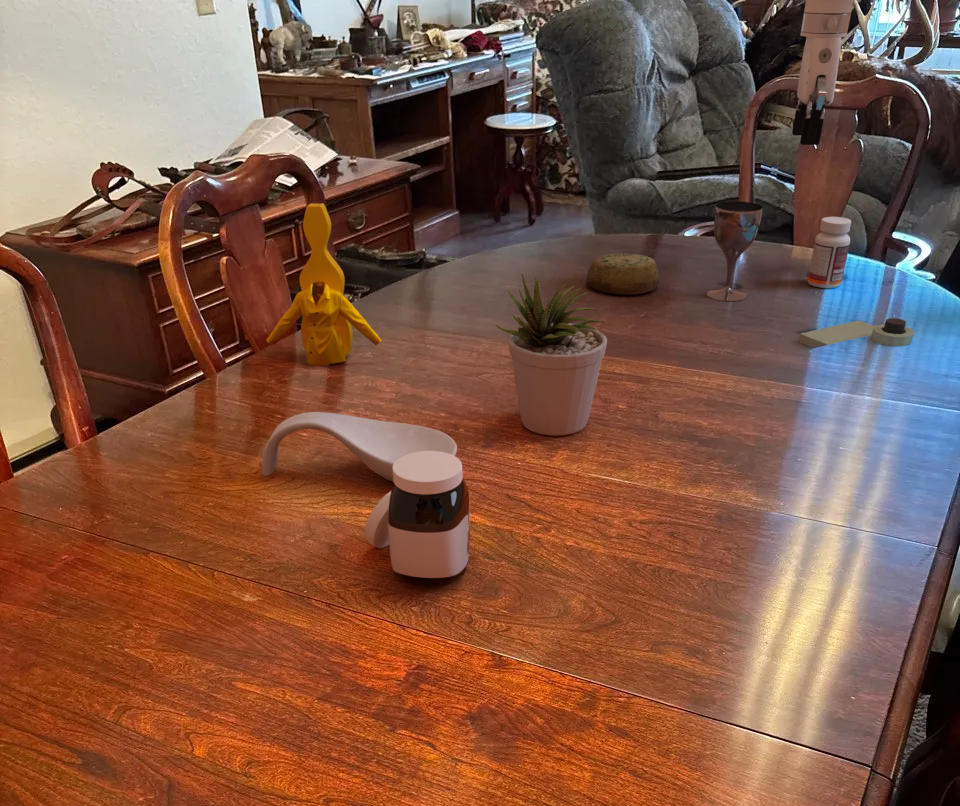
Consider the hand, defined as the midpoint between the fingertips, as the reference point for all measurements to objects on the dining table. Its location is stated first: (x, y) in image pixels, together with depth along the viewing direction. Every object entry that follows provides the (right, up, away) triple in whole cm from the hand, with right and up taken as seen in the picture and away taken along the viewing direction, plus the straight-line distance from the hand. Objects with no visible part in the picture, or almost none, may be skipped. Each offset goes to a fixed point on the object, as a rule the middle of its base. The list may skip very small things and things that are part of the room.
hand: (805, 139), depth 170 cm
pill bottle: (+6, -23, +8) cm, 25 cm away
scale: (+2, -43, -18) cm, 46 cm away
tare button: (+7, -41, -21) cm, 47 cm away
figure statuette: (-82, -45, -21) cm, 96 cm away
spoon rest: (-73, -69, -53) cm, 113 cm away
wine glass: (-13, -27, +4) cm, 30 cm away
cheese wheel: (-31, -23, +9) cm, 40 cm away
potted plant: (-49, -60, -41) cm, 88 cm away
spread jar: (-65, -81, -69) cm, 125 cm away
